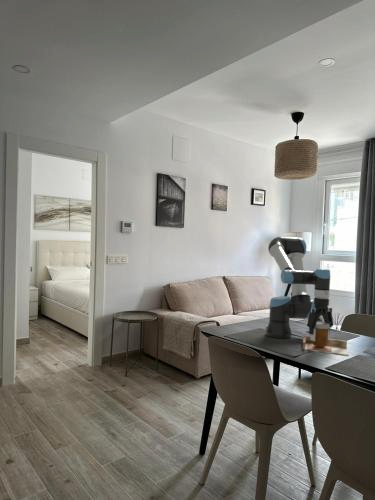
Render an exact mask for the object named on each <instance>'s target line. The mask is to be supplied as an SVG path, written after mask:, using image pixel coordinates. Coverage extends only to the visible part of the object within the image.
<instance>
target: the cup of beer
mask: <svg viewBox="0 0 375 500" xmlns="http://www.w3.org/2000/svg"><path fill="white" fill-rule="evenodd" d="M312 326H313V325H312ZM329 327H330V326H329V323H326V322H324V321H323V322H320V321H317V323H316V325H315V329H316V333H315V341H313V345H314V346H318V347H325V346H326V342H327V336H328V331H329Z"/></svg>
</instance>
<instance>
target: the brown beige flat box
mask: <svg viewBox="0 0 375 500" xmlns="http://www.w3.org/2000/svg"><path fill="white" fill-rule="evenodd" d="M347 345H348V341H347V340H343V339H342V340H341V339H334V338H329V340H327V342H326V346H325V347H318V346H314V345H313V341H312V340H310V336H309V335H304V336H303V341H302V350H304V351H308V350H310V352H318V353H322V354H323V353H325V354H331V355H339V356H345V357H348V356H349V351H348V349H347Z"/></svg>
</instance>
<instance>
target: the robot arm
mask: <svg viewBox="0 0 375 500" xmlns="http://www.w3.org/2000/svg"><path fill="white" fill-rule="evenodd" d="M267 250H268V253H269V254H270V256H271V257H273V259H274V261H275V262H276V264H277V265H278V268H279V270H280V271H281V272H280V280H281V281H280V282H282V284H287V285H291V292H292V295H291V296H287V295H285V296H284V295H279V296H273V297H271V298H270V303H269V321H268V324H267V326H266V329H265V335H266V336H268V337H271V338H276V339H290V338H292V335H293V334H292V330H291V326H290V319H299V320H307V324H306V327H307V328H309V327H310V331H309V335H310V340H312V341H315V333H316V329H315V325H316V323H317V321H318V318H319V317H321V316H322V320H323V322H326V323H329V326H330V327H329V331H328V336H327V340H329V339H330V331H331V328H332V327H333V326H334V319H333V308H332V307H329V306H330V286H331V270H330V269H328V268H316V269H315V270H304V264H303V258H304V257H305V255H306V253H307V243H306V241H305V239H303V238H302V237H297V236H295V237H292V236H277V237H274V238H273V239H272V240H270V242H269V243H268V249H267ZM307 285H314V290H313V291H314V295H313V297H314V298H313V299H311V295H310V294H309V293H307V292H308V291H307ZM312 325H313V326H312Z"/></svg>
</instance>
